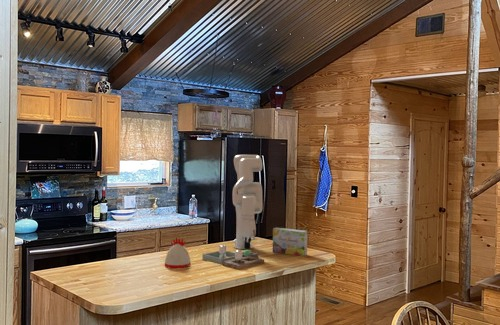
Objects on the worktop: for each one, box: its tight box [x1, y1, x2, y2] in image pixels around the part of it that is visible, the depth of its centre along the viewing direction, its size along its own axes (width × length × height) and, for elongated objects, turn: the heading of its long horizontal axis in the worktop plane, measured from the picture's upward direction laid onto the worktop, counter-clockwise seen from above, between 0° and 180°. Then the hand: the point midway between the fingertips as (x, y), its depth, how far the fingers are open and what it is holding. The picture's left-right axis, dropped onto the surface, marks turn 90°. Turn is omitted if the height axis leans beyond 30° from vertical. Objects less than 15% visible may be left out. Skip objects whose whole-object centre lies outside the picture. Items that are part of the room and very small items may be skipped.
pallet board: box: [222, 256, 265, 271], centre depth 264 cm, size 12×20×3 cm, turn 136°
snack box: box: [272, 227, 308, 257], centre depth 297 cm, size 21×6×15 cm, turn 62°
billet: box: [218, 244, 227, 259], centre depth 276 cm, size 4×4×8 cm
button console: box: [242, 251, 259, 258], centre depth 282 cm, size 9×9×3 cm
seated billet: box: [234, 249, 243, 264], centre depth 261 cm, size 4×4×8 cm
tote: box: [201, 250, 243, 265], centre depth 276 cm, size 16×16×4 cm
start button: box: [243, 249, 252, 255], centre depth 282 cm, size 4×4×4 cm
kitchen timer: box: [164, 237, 191, 269], centre depth 264 cm, size 14×14×15 cm
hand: (247, 248), depth 283 cm, fingers closed
